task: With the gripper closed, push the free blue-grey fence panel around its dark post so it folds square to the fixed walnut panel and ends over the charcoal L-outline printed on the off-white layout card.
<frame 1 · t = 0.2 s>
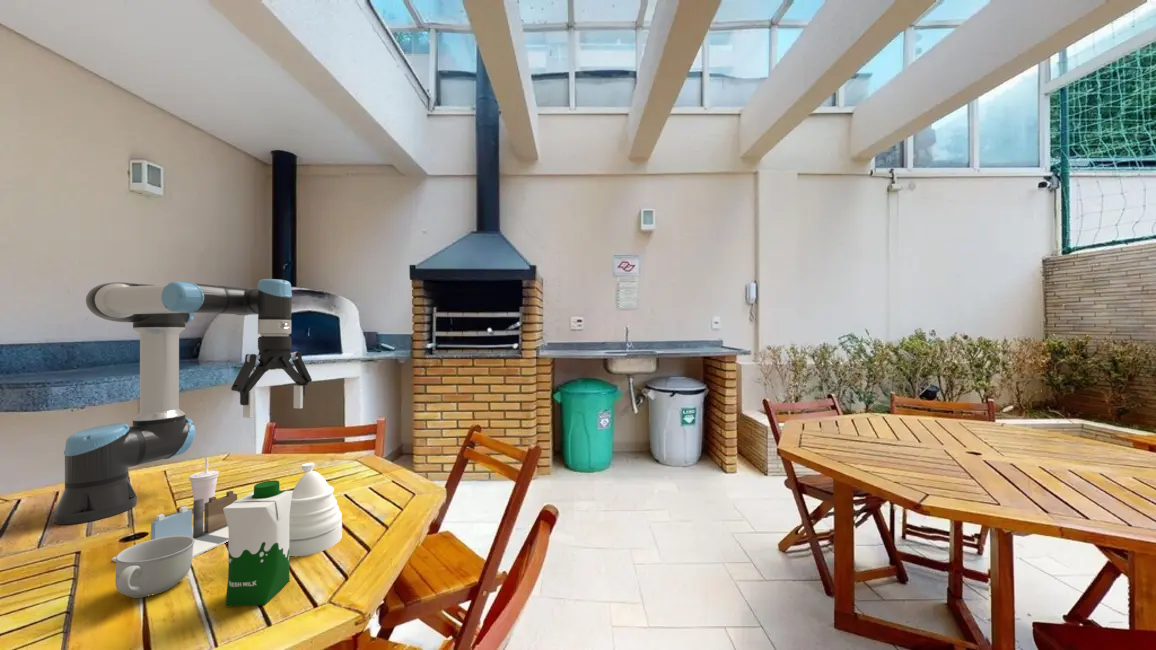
hand: (274, 412, 115), 28 cm above the table, tool pointing down, fingers open, 13 cm apart
milk carton: (258, 595, 79), on the table
honey pot: (310, 543, 98), on the table
layout card: (193, 542, 99), on the table
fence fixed: (198, 538, 101), resting on layout card
fence panel: (172, 528, 96), point 5 cm above the table, hinge at 0.0°
smoothie: (204, 508, 118), on the table
teacup: (148, 594, 80), on the table
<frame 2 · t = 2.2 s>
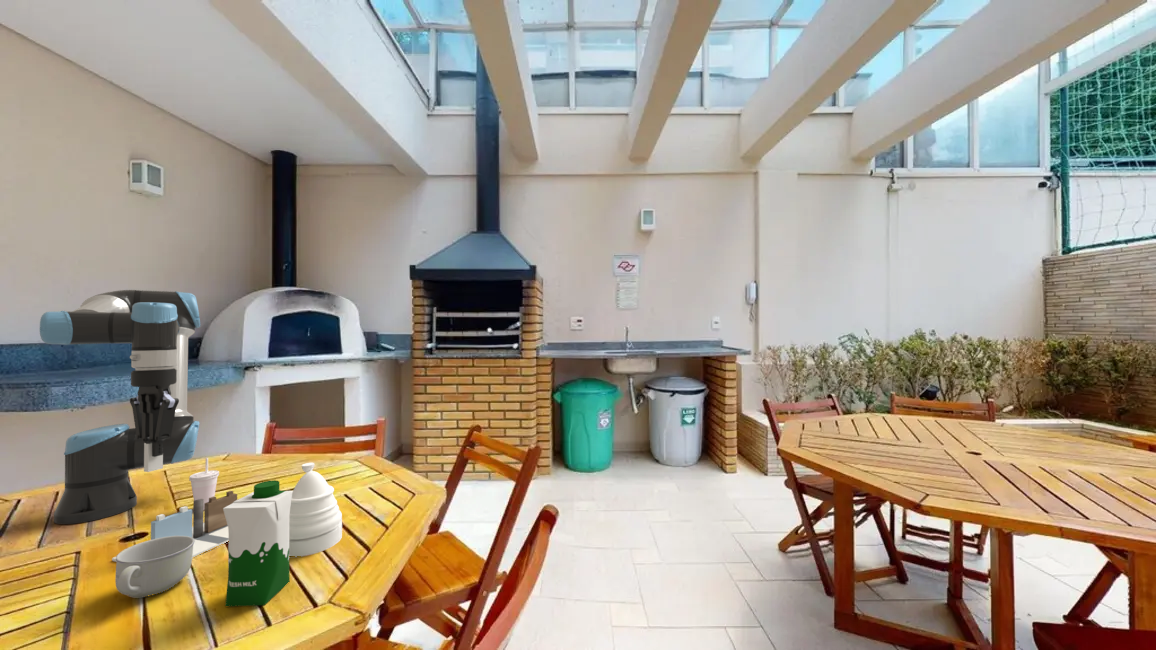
hand: (153, 469, 97), 18 cm above the table, tool pointing down, fingers closed
nothing on the table moved.
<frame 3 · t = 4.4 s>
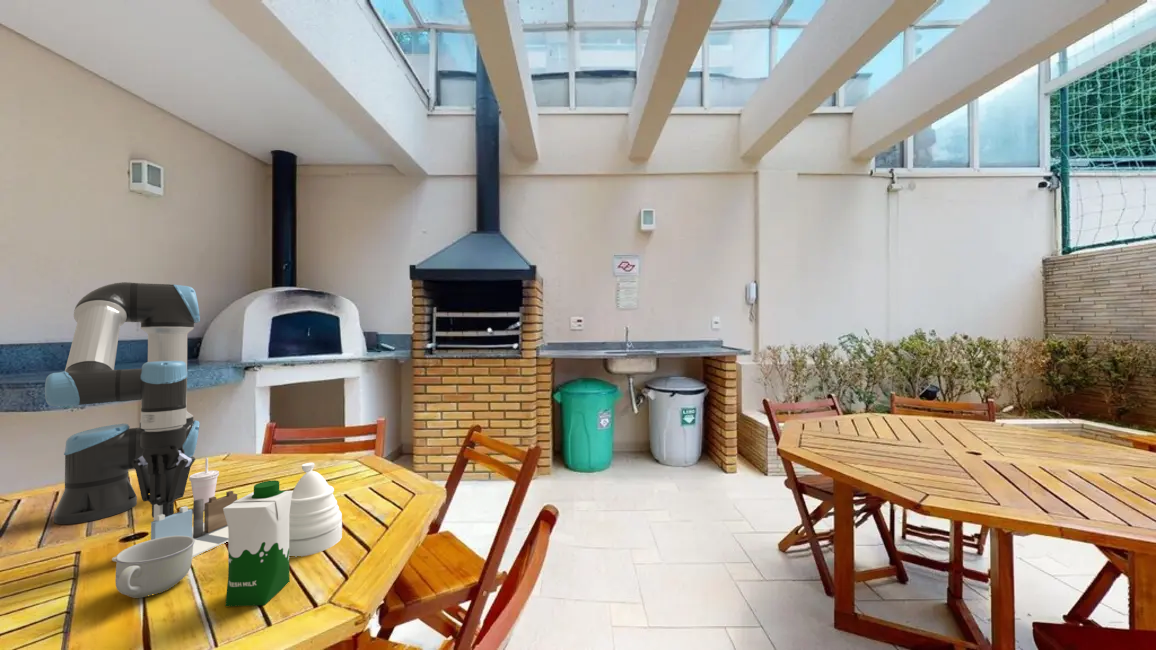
hand: (162, 530, 96), 4 cm above the table, tool pointing down, fingers closed
fence panel: (172, 528, 96), point 5 cm above the table, hinge at 0.4°, touching gripper
everything else where it was.
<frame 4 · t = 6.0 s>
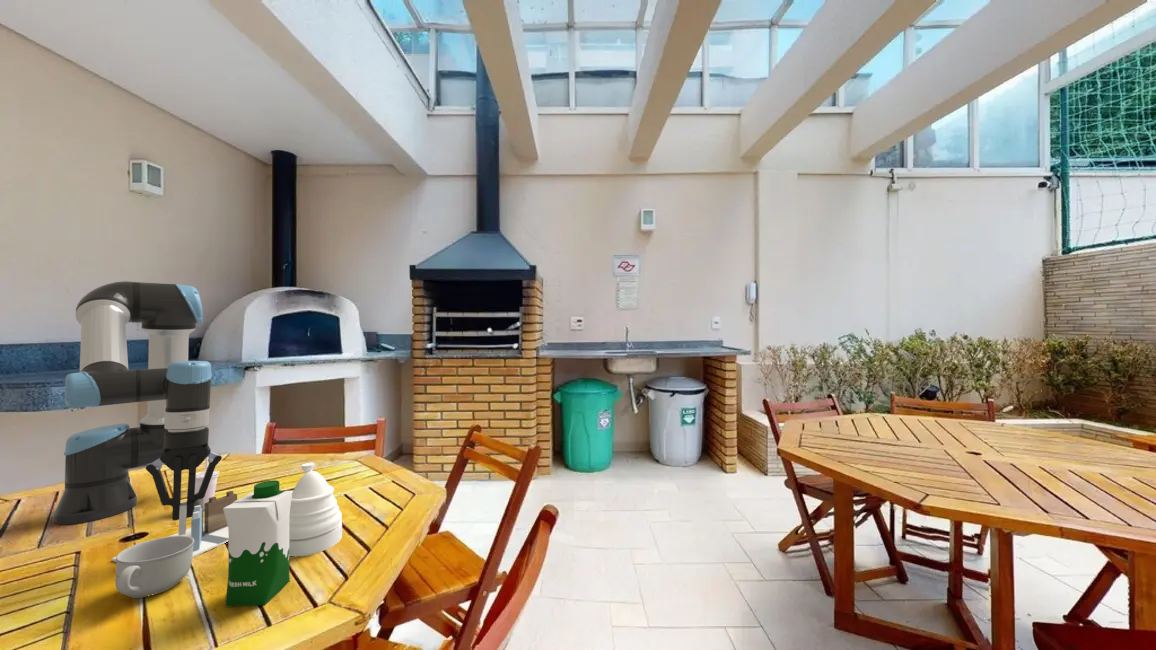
hand: (182, 532, 95), 4 cm above the table, tool pointing down, fingers closed
fence panel: (196, 526, 97), point 5 cm above the table, hinge at 55.5°, touching gripper
everything else where it was.
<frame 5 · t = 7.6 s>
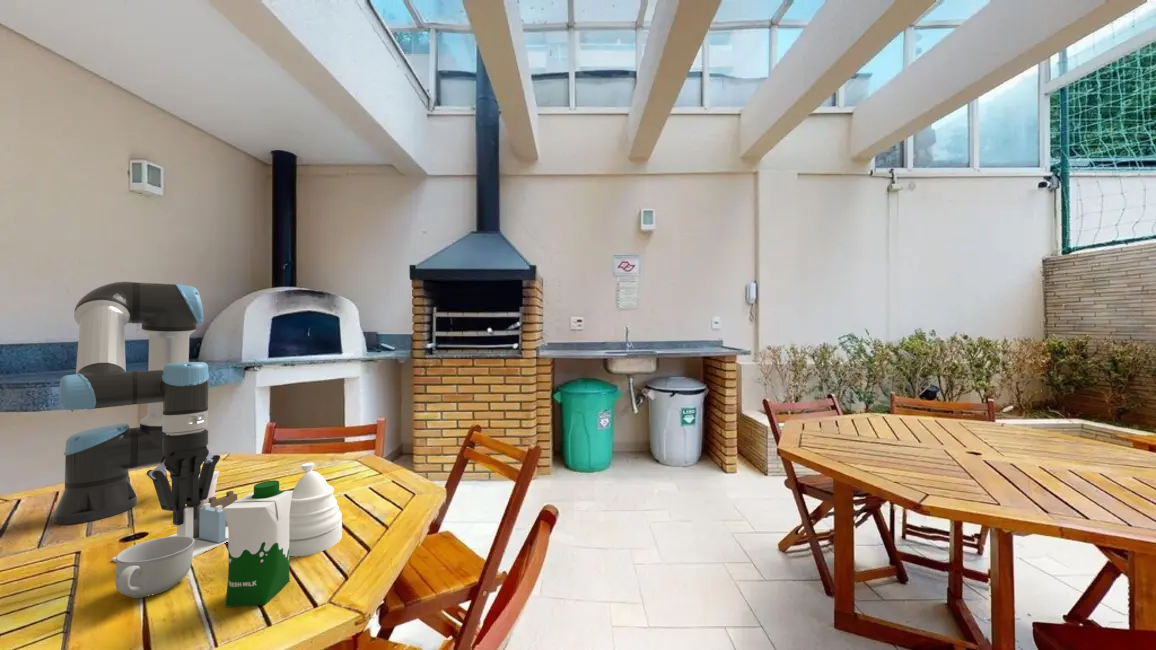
hand: (185, 536, 93), 4 cm above the table, tool pointing down, fingers closed
fence panel: (212, 522, 99), point 5 cm above the table, hinge at 87.0°
everything else where it was.
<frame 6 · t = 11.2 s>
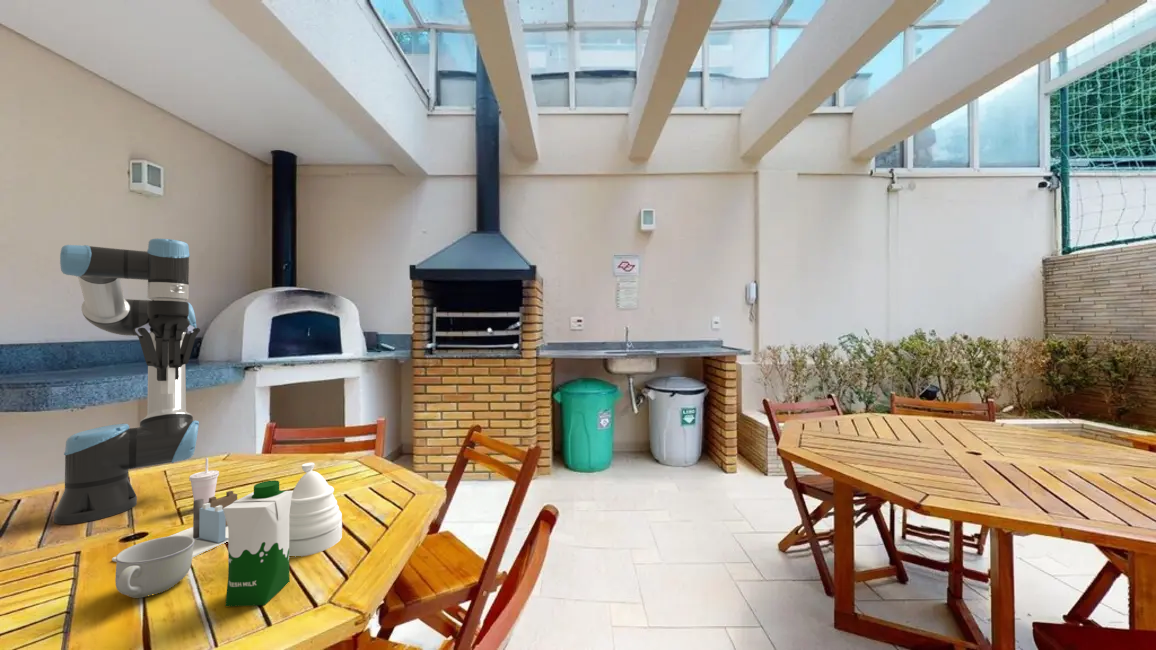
hand: (167, 393, 106), 34 cm above the table, tool pointing down, fingers closed
nothing on the table moved.
at the end: fence panel at +87° (first picture: +0°); fence panel touching nothing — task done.
